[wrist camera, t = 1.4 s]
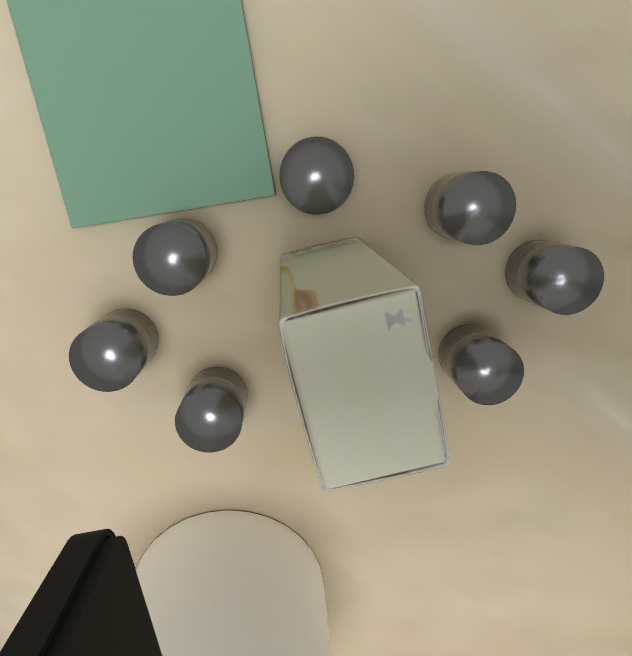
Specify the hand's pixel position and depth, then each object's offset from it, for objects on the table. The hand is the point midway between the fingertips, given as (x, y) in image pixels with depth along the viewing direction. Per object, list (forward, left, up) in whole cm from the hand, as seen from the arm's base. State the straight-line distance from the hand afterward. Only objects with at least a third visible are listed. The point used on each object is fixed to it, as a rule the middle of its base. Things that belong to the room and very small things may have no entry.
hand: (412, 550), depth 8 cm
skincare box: (0, 0, -19) cm, 19 cm away
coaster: (+7, -11, -19) cm, 23 cm away
